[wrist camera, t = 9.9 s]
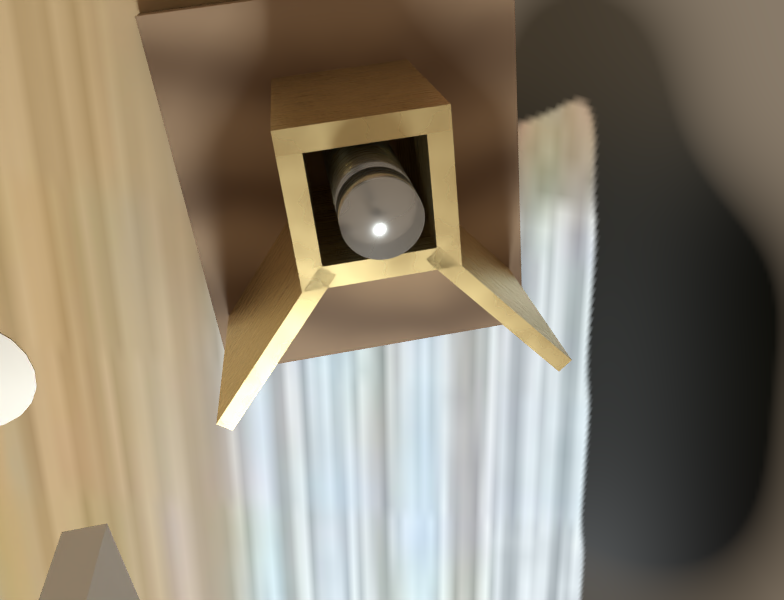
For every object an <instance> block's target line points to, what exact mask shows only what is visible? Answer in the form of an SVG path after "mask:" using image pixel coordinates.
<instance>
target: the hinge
mask: <svg viewBox="0 0 784 600" xmlns="http://www.w3.org/2000/svg"><path fill="white" fill-rule="evenodd" d="M271 136H272V141H273V146H274V151H275V156H276V162H277V167H278V172H279V177H280V182H281V187H282V192H283V197H284V202H285V208H286V213H287V218H288V221H287V223H286V224H285V226H284V227H283V229H282V231H281V232H280V234H279V236H278V237H277V239H276V240H275V242H274V244H273V245H272V247H271V248H270V250H269V252H268V253H267V255H266V257H265V258H264V260H263V261H262V263H261V265H260V266H259V268H258V269H257V271H256V273H255V274H254V276H253V278H252V279H251V281H250V282H249V284H248V286H247V287H246V289H245V290H244V292H243V294H242V295H241V297H240V299H239V300H238V302H237V303H236V305H235V307H234V308H233V310H232V311H231V313H230V315H229V318H228V327H227V336H226V345H225V353H224V362H223V371H222V380H221V389H220V398H219V407H218V416H217V424H218V425H220V426H223V427H225V428H228V429H230V430H233V429H234V428H235V426H236V425H237V423H238V422H239V420H240V419H241V417H242V416H243V414H244V413H245V411H246V410H247V408H248V407H249V405H250V404H251V402H252V401H253V399H254V398H255V396H256V395H257V393H258V392H259V390H260V389H261V387H262V386H263V384H264V383H265V381H266V380H267V378H268V377H269V375H270V374H271V372H272V371H273V369H274V368H275V366H276V365H277V363H278V362H279V360H280V359H281V357H282V356H283V354H284V353H285V351H286V350H287V348H288V347H289V345H290V344H291V342H292V341H293V339H294V338H295V336H296V335H297V333H298V332H299V330H300V329H301V327H302V326H303V324H304V323H305V321H306V320H307V318H308V317H309V315H310V314H311V312H312V311H313V309H314V308H315V306H316V305H317V303H318V302H319V300H320V299H321V297H322V296H323V294H324V293H325V291H326V290H327V288H331V287H337V286H343V285H349V284H355V283H361V282H367V281H373V280H379V279H385V278H391V277H397V276H403V275H409V274H415V273H421V272H427V271H433V270H438V271H439V272H441V273H442V274H443V275H444V276H445V277H447V278H448V279H449V280H450V281H451V282H453V283H454V284H455V285H456V286H457V287H459V288H460V289H461V290H462V291H463V292H465V293H466V294H467V295H468V296H469V297H470V298H472V299H473V300H474V301H475V302H476V303H478V304H479V305H480V306H481V307H482V308H484V309H485V310H486V311H487V312H488V313H490V314H491V315H492V316H493V317H494V318H496V319H497V320H498V321H499V322H500V323H502V324H503V325H504V326H505V327H506V328H508V329H509V330H510V331H511V332H512V333H514V334H515V335H516V336H517V337H518V338H520V339H521V340H522V341H523V342H524V343H525V344H527V345H528V346H529V347H530V348H531V349H533V350H534V351H535V352H536V353H537V354H539V355H540V356H541V357H542V358H543V359H545V360H546V361H547V362H548V363H549V364H551V365H552V366H553V367H554V368H555V369H557V370H558V371H560V370H561V369H562V368H563V367H564V366H566V365H567V364H568V363H569V362H570V361H571V359H570V357H569V356H568V354H567V353H566V351H565V350H564V348H563V347H562V345H561V344H560V342H559V341H558V340H557V338H556V337H555V335H554V334H553V332H552V331H551V329H550V328H549V326H548V325H547V323H546V322H545V320H544V319H543V318H542V316H541V315H540V313H539V312H538V310H537V309H536V307H535V306H534V304H533V303H532V301H531V300H530V299H529V297H528V296H527V294H526V293H525V291H524V290H523V288H522V287H521V285H520V284H519V282H518V281H517V279H516V278H515V277H514V275H513V274H512V272H511V271H510V269H509V268H508V267H507V266H506V265H504V264H503V263H502V262H501V261H500V260H499V259H498V258H497V257H495V256H494V255H493V254H492V253H491V252H490V251H489V250H488V249H486V248H485V247H484V246H483V245H482V244H481V243H480V242H479V241H478V240H476V239H475V238H474V237H473V236H472V235H471V234H470V233H469V232H467V231H466V230H465V229H464V228H463V227H462V226H461V225H460V224H459V215H458V201H457V186H456V172H455V158H454V143H453V129H452V114H451V104H450V103H449V102H448V101H447V100H446V99H445V98H444V97H443V96H442V95H441V94H440V93H439V92H438V91H437V90H436V89H435V88H434V86H433V85H432V84H431V83H430V82H429V81H428V80H427V79H426V78H425V77H424V76H423V75H422V74H421V73H420V72H419V71H418V70H417V69H416V68H415V67H414V66H413V65H412V64H411V63H410V62H409V61H408V60H407V59H405V60H398V61H391V62H384V63H377V64H370V65H363V66H356V67H349V68H342V69H336V70H329V71H322V72H315V73H308V74H301V75H294V76H287V77H280V78H273V79H271ZM392 139H396V148H397V157H398V160H399V162H400V164H401V165H402V167H403V169H404V171H405V173H406V174H407V176H408V178H409V180H410V182H411V183H412V185H413V187H414V189H415V191H416V192H417V194H418V196H419V198H420V200H421V202H422V204H423V207H424V212H425V222H424V227H423V230H422V233H421V235H420V237H419V239H418V240H417V242H416V243H415V244H414V245H413V246H412V247H411V248H410V249H409V250H408V251H406V252H405V253H403V254H401V255H399V256H397V257H394V258H391V259H385V260H374V259H369V258H366V257H363V256H361V255H359V254H357V253H356V252H354V251H353V250H352V249H351V248H350V247H349V246H348V245H347V243H346V242H345V240H344V239H343V237H342V234H341V231H340V226H339V222H338V218H337V214H336V210H335V205H334V201H333V197H332V193H331V189H330V184H328V185H321V186H315V187H311V186H310V180H309V174H308V168H307V163H306V157H305V153H306V152H313V151H320V150H326V149H333V148H339V147H346V146H353V145H359V144H366V143H372V142H379V141H385V140H392Z"/></svg>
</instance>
